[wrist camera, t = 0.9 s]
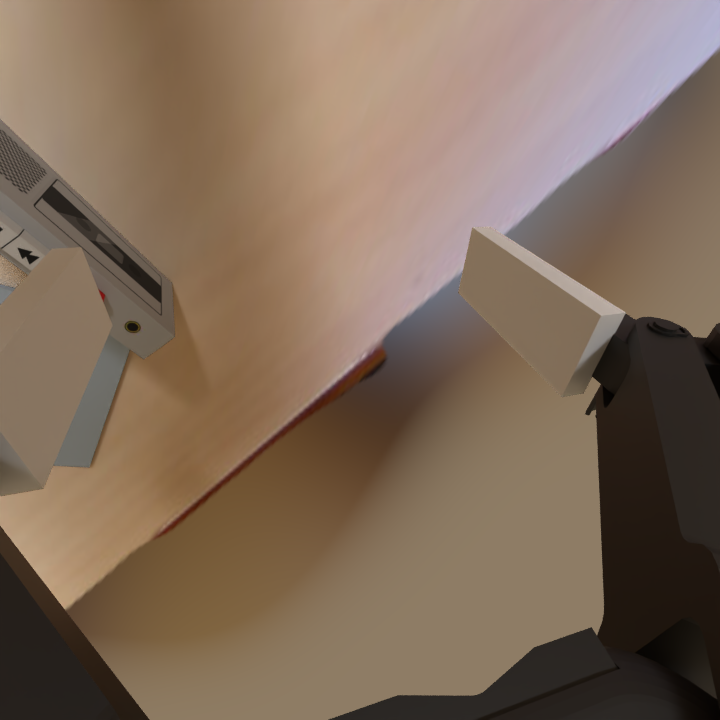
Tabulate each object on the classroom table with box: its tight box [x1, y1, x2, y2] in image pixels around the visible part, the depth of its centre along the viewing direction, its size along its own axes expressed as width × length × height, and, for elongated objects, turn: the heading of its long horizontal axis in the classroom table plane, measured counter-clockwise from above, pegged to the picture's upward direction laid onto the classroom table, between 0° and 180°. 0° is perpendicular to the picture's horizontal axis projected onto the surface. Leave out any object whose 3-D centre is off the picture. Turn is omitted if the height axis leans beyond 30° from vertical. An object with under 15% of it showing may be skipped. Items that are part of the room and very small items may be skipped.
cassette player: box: [0, 119, 175, 359], centre depth 24 cm, size 16×3×10 cm, turn 28°
